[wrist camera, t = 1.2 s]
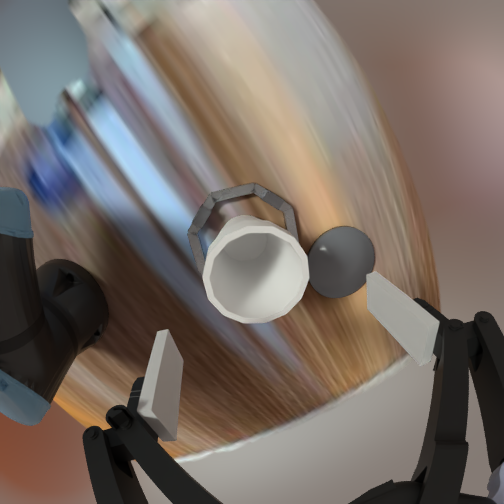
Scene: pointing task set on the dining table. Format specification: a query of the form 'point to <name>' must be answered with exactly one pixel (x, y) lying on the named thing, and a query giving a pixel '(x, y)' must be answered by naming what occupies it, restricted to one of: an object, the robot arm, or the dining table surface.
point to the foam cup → (255, 270)
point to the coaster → (340, 261)
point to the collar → (227, 194)
